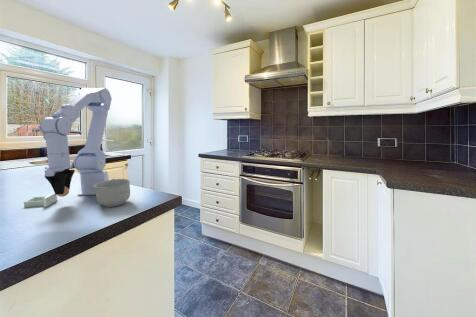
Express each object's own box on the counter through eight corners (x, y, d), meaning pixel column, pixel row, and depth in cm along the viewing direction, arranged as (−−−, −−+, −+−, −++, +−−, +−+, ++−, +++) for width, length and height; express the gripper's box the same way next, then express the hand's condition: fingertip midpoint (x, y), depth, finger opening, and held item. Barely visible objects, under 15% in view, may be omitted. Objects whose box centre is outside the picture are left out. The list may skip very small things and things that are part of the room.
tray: (53, 200, 80) (53, 195, 80) (45, 205, 75) (44, 200, 75) (34, 201, 79) (34, 197, 78) (24, 207, 73) (23, 202, 73)
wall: (57, 200, 80) (56, 192, 80) (46, 206, 74) (45, 198, 73) (54, 200, 80) (53, 192, 80) (43, 206, 73) (42, 198, 73)
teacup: (127, 207, 74) (126, 184, 72) (90, 210, 70) (88, 187, 69) (134, 195, 87) (133, 176, 86) (103, 197, 84) (102, 177, 83)
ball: (71, 194, 78) (70, 184, 77) (66, 197, 74) (65, 187, 74) (59, 195, 77) (58, 185, 76) (54, 198, 73) (53, 188, 73)
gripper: (55, 151, 79) (59, 187, 81) (30, 156, 65) (36, 199, 67) (77, 150, 81) (81, 186, 83) (58, 155, 67) (63, 198, 69)
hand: (62, 192), depth 75 cm, fingers closed on ball, 4 cm apart
